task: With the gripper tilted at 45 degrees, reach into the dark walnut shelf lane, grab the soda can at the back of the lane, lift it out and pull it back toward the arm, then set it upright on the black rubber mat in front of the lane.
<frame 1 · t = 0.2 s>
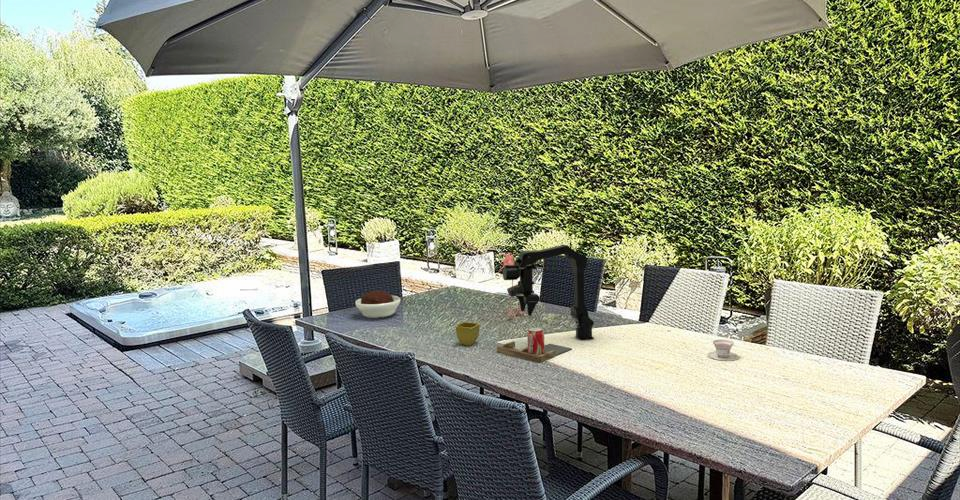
hand: (526, 313, 266), 14 cm above the table, tool pointing down, fingers open, 9 cm apart
shelf lanes: (536, 356, 250), on the table
white dessert bowl: (379, 316, 333), on the table
teacup: (722, 357, 241), on the table
figurine: (510, 317, 319), on the table
soda can: (536, 357, 250), on the table
rubber mat: (552, 350, 257), on the table
flower pot: (468, 344, 273), on the table
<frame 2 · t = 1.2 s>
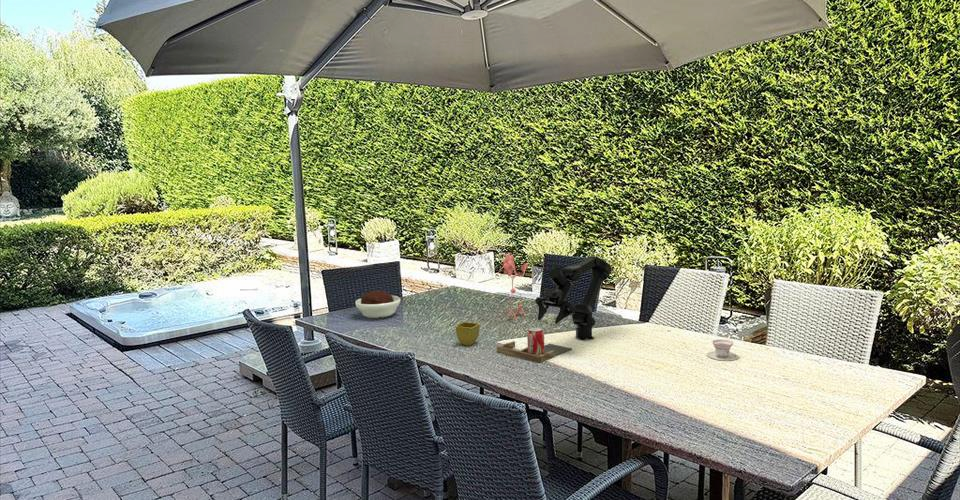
hand: (546, 321, 254), 13 cm above the table, tool tilted 45°, fingers open, 9 cm apart
nothing on the table moved.
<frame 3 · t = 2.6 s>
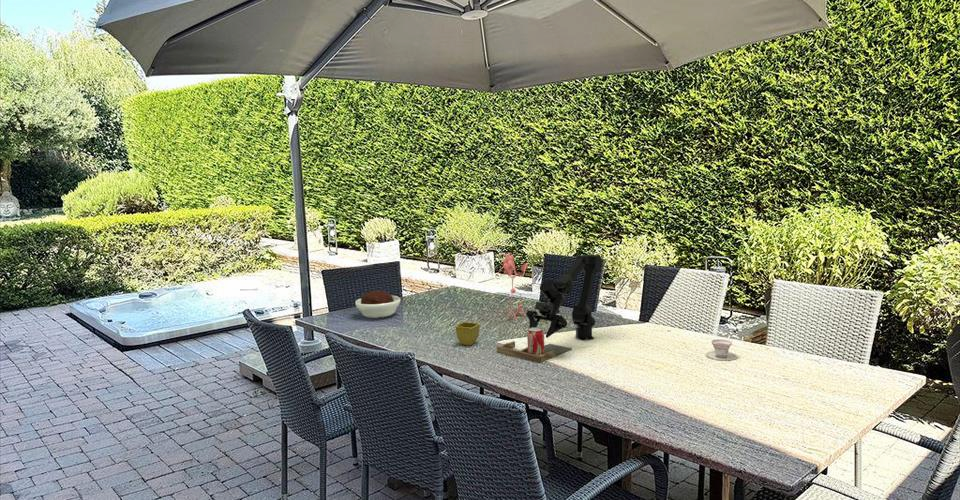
hand: (537, 335, 250), 9 cm above the table, tool tilted 45°, fingers open, 9 cm apart
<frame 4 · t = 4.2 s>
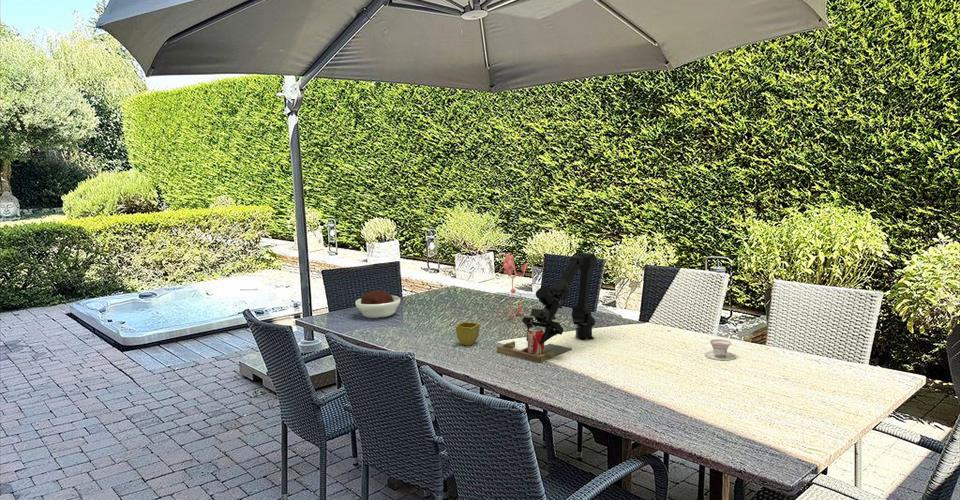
hand: (533, 342, 248), 7 cm above the table, tool tilted 45°, fingers closed on soda can, 7 cm apart
soda can: (536, 357, 250), on the table, touching gripper
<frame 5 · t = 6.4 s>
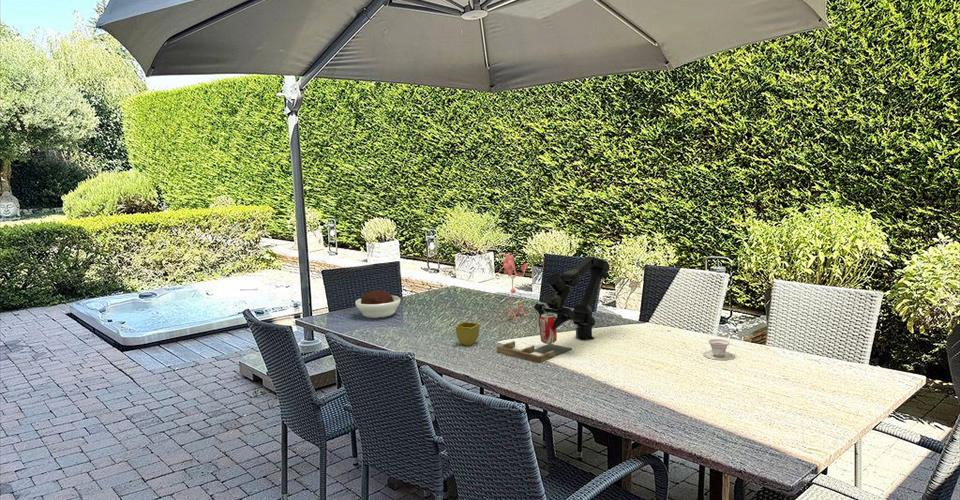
hand: (546, 328, 253), 11 cm above the table, tool tilted 45°, fingers closed on soda can, 7 cm apart
soda can: (548, 342, 255), point 4 cm above the table, touching gripper
when the fingers open (8 cm above the table, at t = 8.4 s): soda can drops 1 cm, resting on rubber mat.
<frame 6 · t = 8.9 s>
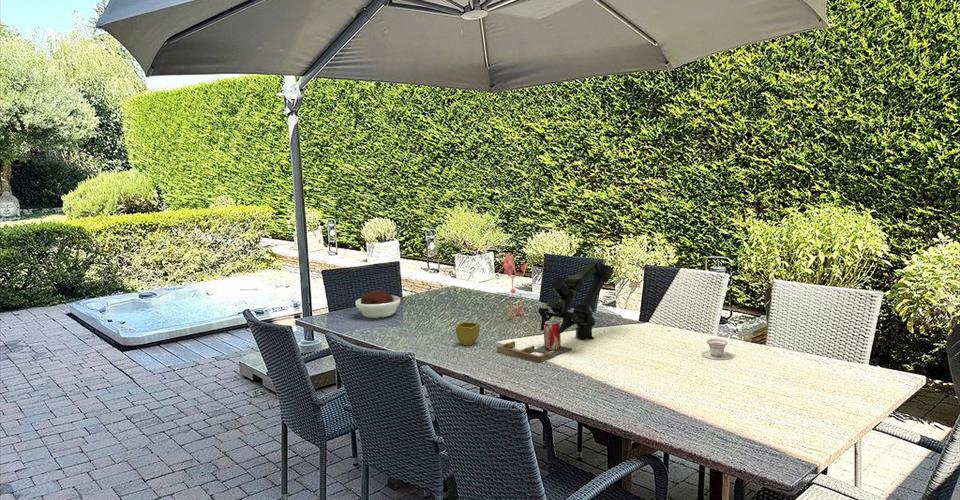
hand: (549, 332, 255), 9 cm above the table, tool tilted 45°, fingers open, 9 cm apart
soda can: (552, 349, 257), resting on rubber mat
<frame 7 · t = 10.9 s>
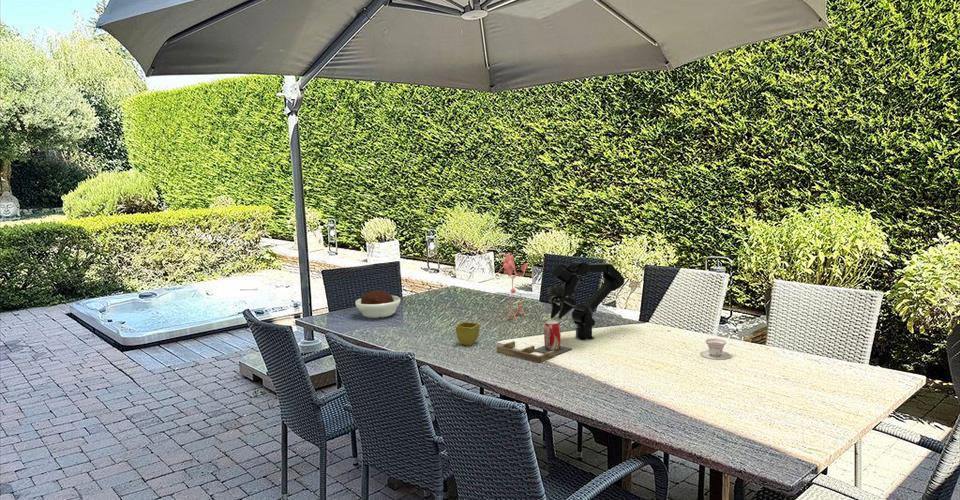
hand: (555, 318, 264), 12 cm above the table, tool tilted 35°, fingers open, 9 cm apart
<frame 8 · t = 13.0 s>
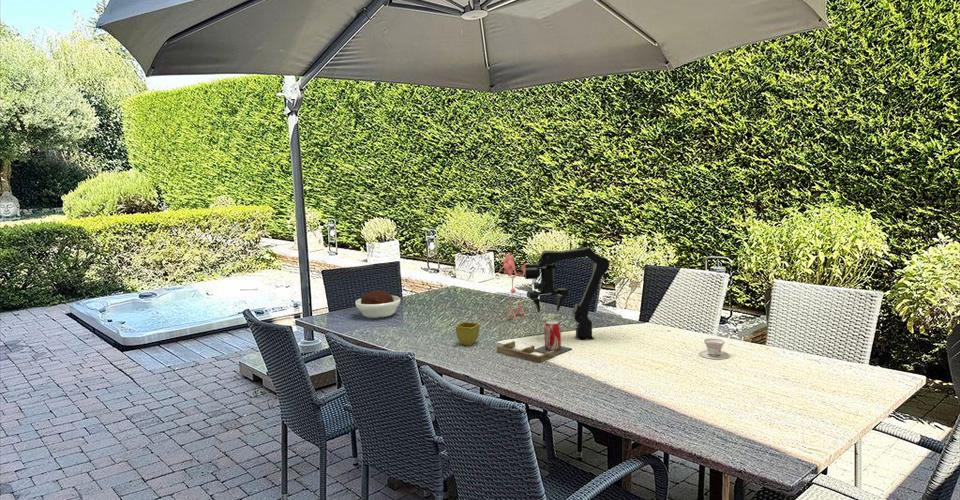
hand: (548, 311, 273), 13 cm above the table, tool pointing down, fingers open, 9 cm apart
at the end: soda can inside the target area on the rubber mat (0.3 cm from its centre), point 0.4 cm above the rubber mat's base; soda can tilted 0°; the gripper is holding nothing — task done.
